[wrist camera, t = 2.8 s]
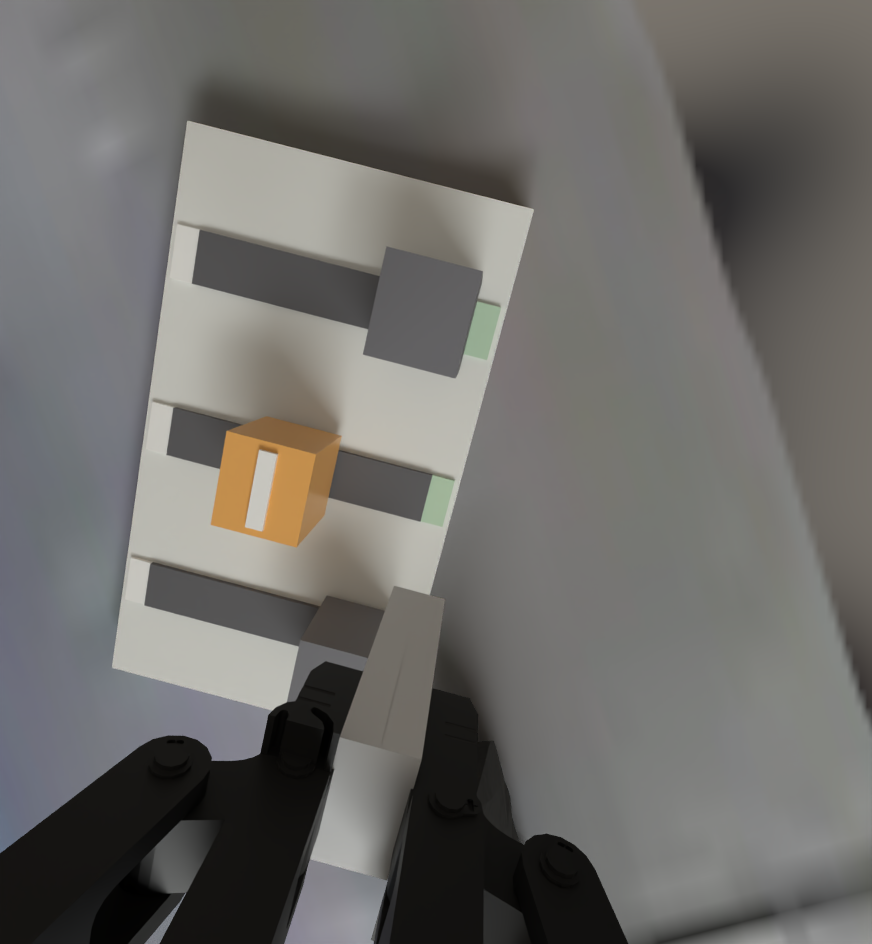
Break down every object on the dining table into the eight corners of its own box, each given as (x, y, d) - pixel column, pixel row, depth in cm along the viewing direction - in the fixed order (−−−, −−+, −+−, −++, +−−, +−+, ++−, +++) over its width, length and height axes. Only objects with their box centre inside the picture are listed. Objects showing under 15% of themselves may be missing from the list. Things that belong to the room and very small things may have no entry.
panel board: (135, 646, 38) (49, 724, 30) (210, 137, 31) (122, 72, 23) (395, 715, 37) (374, 811, 30) (529, 219, 31) (546, 180, 23)
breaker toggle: (251, 495, 32) (208, 526, 27) (266, 416, 31) (224, 431, 26) (324, 515, 32) (295, 549, 26) (341, 435, 31) (314, 455, 25)
